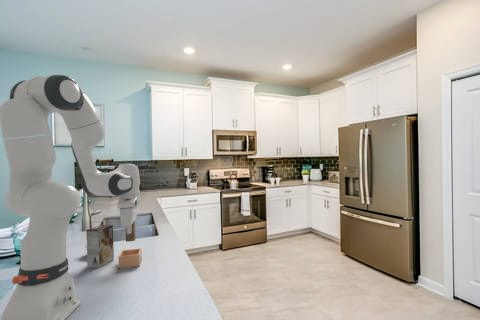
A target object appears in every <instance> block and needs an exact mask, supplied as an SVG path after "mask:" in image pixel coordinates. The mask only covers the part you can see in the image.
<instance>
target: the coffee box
mask: <svg viewBox="0 0 480 320" xmlns="http://www.w3.org/2000/svg"><path fill="white" fill-rule="evenodd" d="M85 232H86V236H85V237H86V244H87V248H86V260H87V262H86V266H87V267H88V268H101V267H103V266H105V265H106V264H109V263H110V262H112V261H114V260H115V255H114V253H115V252H114V250H115V249H114V248H115V247H114V225H113V224H100V225H97V226H93V227H91V228H88V229H86V231H85Z"/></svg>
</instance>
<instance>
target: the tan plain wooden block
mask: <svg viewBox="0 0 480 320" xmlns="http://www.w3.org/2000/svg"><path fill="white" fill-rule="evenodd" d="M124 228H125V242H126V243H127V242H135V241H136V236H137V235H136V220H134V222H133V223H132V233H131V234H127V229H126V227H124Z"/></svg>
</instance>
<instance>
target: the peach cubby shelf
mask: <svg viewBox="0 0 480 320" xmlns="http://www.w3.org/2000/svg"><path fill="white" fill-rule="evenodd" d="M142 256H143V253H142V248H132V249H122V250H121V252H120V253H119V255H118V269H130V268H136V267H140V266H141V263H142V259H143V258H142Z"/></svg>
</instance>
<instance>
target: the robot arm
mask: <svg viewBox="0 0 480 320" xmlns="http://www.w3.org/2000/svg"><path fill="white" fill-rule="evenodd" d="M54 113H56V114H59V115H60V116H61V118H62V120H63V121H64V123H65V126H66V129H67V130H68V132H69V135H70V139H71V143H70V145H71V152H72V154H73V157H74V160H75V163H76V165H77V168H78V170H79V171H78V172H79V173H80V176H81V183H82V189H83V191H84V193H86V195H87V196H90V197H94V198H95V197H118V198H117V200H118V203H117V208H118V209H119V217H120V224H121V228H125V227H126V229H127V234H131V233H132V223H133V222H134V221H136V219H137V217H138V205H140V204H141V191H140V171H139V168H138V167H139V166H137V165H136V164H133V163H126V162H125V163H120V164H119V165H118V167H117V168H116V169H114V170H112V171H111V172H102V171H100V170H98V168H97V165H96V162H95V159H94V156H93V149H95V147H97V146H98V145H100V144H101V143H102V141H103V140H104V138H105V135H106V131H105V127H104V124H103V121H102V120H101V118H100V115H99V113H98V111H97V109H96V108H95V106H94V104H93V103H92V101H91V100H90V99H89V97H88V96H87V95H86V94H84V92H83V90H82V89H81V87H80V85H79V83H77V81H76V80H74V79H73V78H71V76H68V75H64V74H63V75H62V74H52V75H49V76H47V75H46V76H35V77H32V78H29V79H27V80H25V79H24V80H21V81H18V82H17V83H15V84H14V85H13V86H12V87H11V89H10V92H9V99H7V100H5V101H4V102H3V103H1V105H0V132H1V136H2V141H3V144H4V148H5V153H6V156H7V160H8V166H9V191H8V192H7V194H6V197H5V203H6V206H7V208H8V209H9V210H10V211H12V212H13V213H15V214H17V215H19V216H22V217H28V218H29V222H28V226H27V230H26V232H25V234H24V236H23V237H22V238H21V240H20V247H19V248H20V267H19V269H18V273H17V275H14V276H13V277H12V280H11V281H12V282H11V283H12V285H16V284H17V285H16V287H15V288H14V290H13V291H12V292H13V293H12V294H11V296H10V297H9V300H8V302H7V304H6V305H5V308H4V310H3V312H2V315H1V320H66V319H67V318H68V317H69V316H70V315H71V314H72V313H73V312H74V311H75V310H76V309H77V308H78V307H79V306H80V305H81V299H79V298H76V292H75V291H76V289H75V280H74V278H73V276H71V275H70V273H69V259H68V257H67V233H68V229H69V225H70V221H71V219H72V217H73V215H74V214H75V213H76V212H78V210H79V208H80V205H81V203H82V202H81V201H82V197H81V194H80V191H79V190H78V189H77V188H75V187H74V186H72V185H69V184H67V183H64V182H59V181H58V182H56V181H55V182H54V181H53V180H52V171H53V167H54V164H55V163H56V161H57V156H56V152H55V147H54V143H53V138H52V133H51V130H50V125H49V123H48V118H49V114H54Z"/></svg>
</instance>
